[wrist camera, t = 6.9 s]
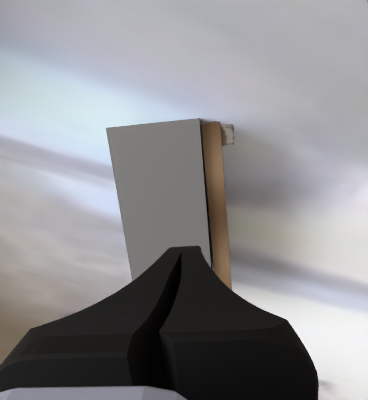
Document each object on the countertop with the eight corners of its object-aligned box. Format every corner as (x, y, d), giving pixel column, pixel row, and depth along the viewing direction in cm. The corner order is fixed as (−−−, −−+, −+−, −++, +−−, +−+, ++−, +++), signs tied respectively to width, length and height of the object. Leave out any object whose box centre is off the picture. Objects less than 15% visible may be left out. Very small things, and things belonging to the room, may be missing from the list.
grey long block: (212, 268, 23) (214, 312, 17) (152, 271, 23) (138, 315, 18) (200, 118, 19) (199, 118, 14) (131, 125, 20) (105, 128, 14)
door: (236, 271, 22) (245, 309, 18) (214, 272, 22) (217, 311, 18) (227, 119, 19) (235, 120, 14) (201, 122, 19) (201, 124, 15)
